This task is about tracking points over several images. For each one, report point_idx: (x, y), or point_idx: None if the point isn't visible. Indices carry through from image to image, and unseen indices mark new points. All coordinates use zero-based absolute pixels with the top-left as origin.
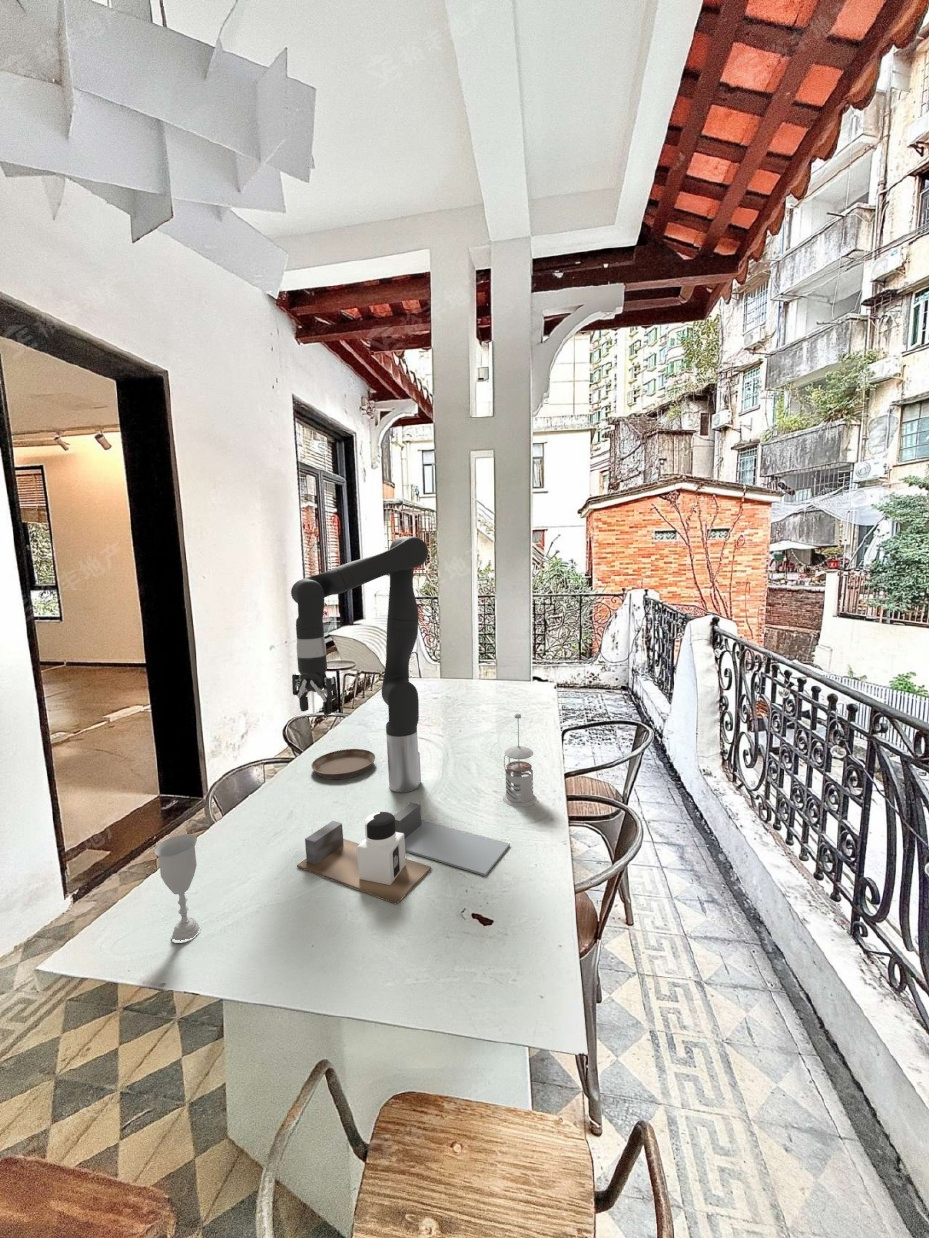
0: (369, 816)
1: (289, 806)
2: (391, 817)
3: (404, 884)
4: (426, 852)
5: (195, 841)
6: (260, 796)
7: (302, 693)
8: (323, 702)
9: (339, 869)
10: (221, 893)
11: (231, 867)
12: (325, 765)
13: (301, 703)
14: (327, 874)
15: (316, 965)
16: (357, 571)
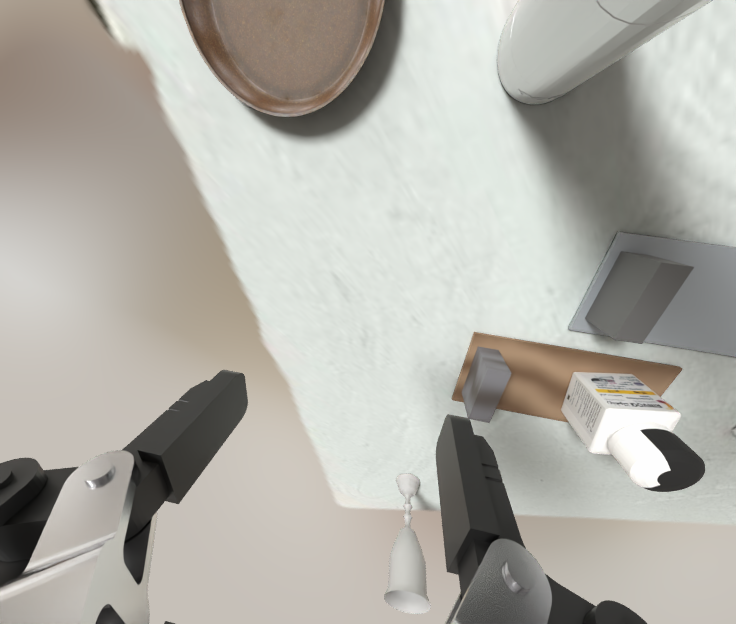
0: (645, 476)
1: (316, 261)
2: (701, 473)
3: None
4: (669, 338)
5: (421, 594)
6: (231, 244)
7: (147, 583)
8: (452, 565)
9: (520, 398)
10: (394, 442)
11: (367, 410)
12: (220, 7)
13: (204, 461)
14: (507, 408)
15: (556, 494)
16: None
